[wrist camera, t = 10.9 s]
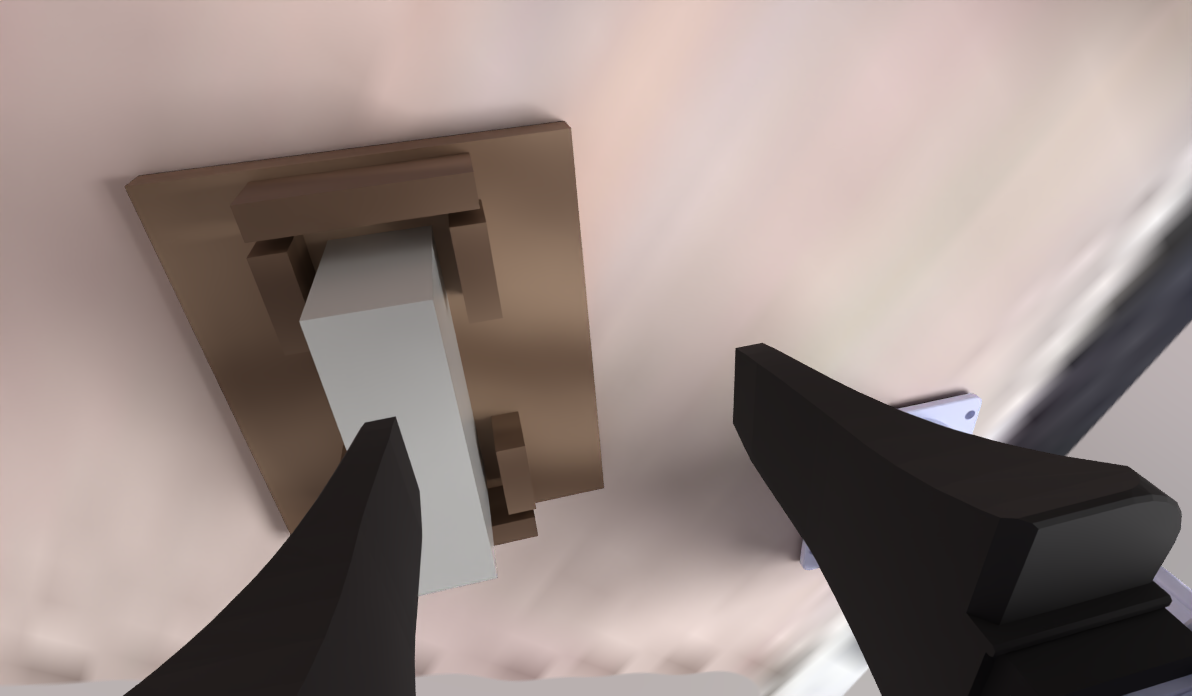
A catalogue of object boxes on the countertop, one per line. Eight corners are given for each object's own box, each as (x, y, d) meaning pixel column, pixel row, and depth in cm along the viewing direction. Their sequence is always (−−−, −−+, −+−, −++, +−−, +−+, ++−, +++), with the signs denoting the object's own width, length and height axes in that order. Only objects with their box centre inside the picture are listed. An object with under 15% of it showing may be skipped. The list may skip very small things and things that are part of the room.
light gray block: (485, 472, 24) (497, 577, 20) (405, 488, 24) (401, 600, 20) (431, 225, 19) (432, 299, 15) (327, 240, 19) (299, 321, 15)
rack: (598, 471, 27) (616, 523, 25) (303, 534, 25) (290, 597, 23) (564, 120, 19) (585, 145, 17) (138, 175, 18) (91, 211, 15)
